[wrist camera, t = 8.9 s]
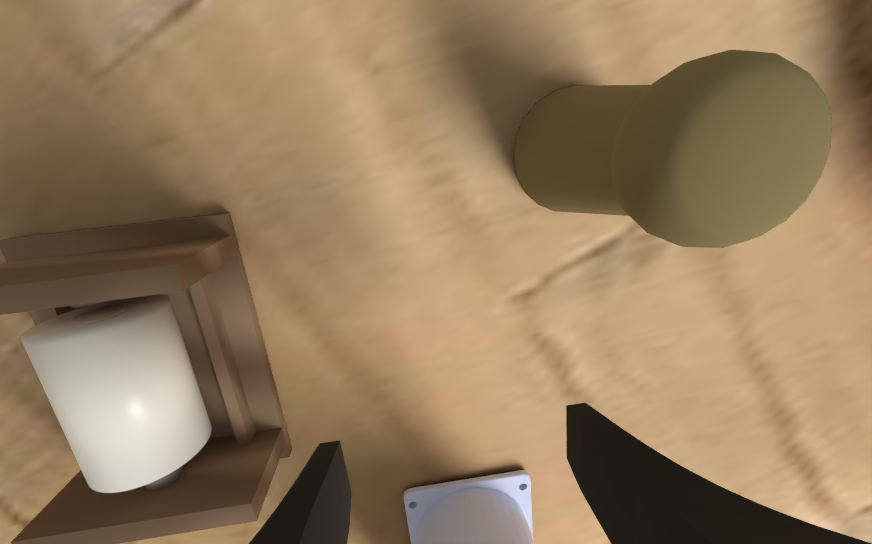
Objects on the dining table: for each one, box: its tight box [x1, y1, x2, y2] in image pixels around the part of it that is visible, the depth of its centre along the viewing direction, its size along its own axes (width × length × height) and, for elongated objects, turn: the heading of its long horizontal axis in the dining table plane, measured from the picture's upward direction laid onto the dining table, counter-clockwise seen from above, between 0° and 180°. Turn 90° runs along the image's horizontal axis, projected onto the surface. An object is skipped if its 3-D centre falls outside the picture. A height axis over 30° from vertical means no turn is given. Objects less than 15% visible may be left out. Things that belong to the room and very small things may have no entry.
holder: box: [0, 213, 292, 544], centre depth 18 cm, size 14×10×6 cm
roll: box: [21, 294, 212, 493], centre depth 18 cm, size 7×5×5 cm
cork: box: [513, 50, 832, 248], centre depth 15 cm, size 6×6×11 cm
